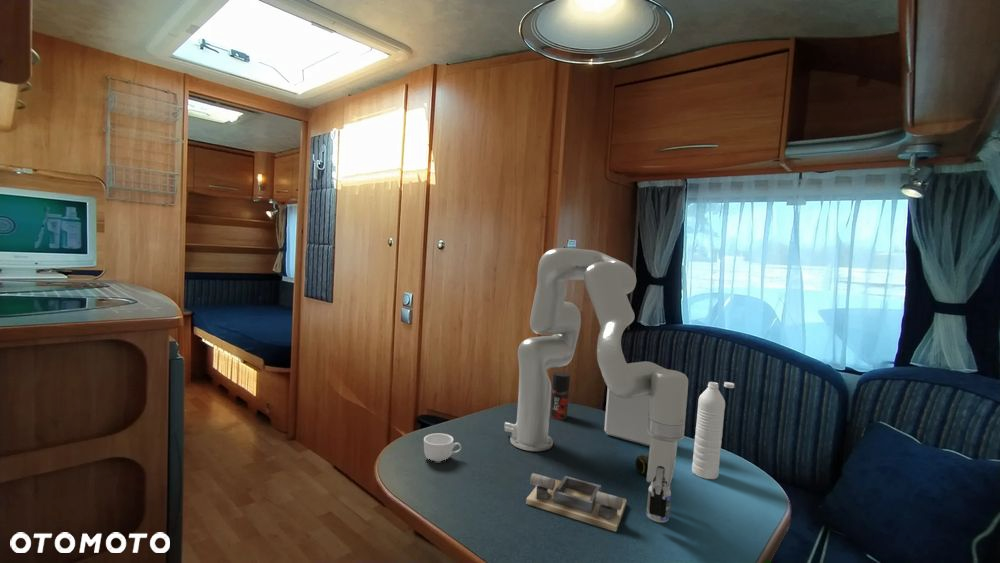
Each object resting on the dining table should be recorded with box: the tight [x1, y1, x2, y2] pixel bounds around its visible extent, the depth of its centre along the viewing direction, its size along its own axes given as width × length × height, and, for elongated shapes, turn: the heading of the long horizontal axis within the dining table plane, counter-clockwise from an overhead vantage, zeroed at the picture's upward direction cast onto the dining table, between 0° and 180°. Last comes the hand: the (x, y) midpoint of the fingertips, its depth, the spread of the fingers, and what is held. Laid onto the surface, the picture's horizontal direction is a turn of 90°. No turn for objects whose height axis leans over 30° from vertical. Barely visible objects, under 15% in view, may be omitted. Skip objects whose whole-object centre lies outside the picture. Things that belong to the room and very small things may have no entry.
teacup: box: [423, 432, 462, 461], centre depth 122 cm, size 10×8×5 cm
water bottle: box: [691, 381, 735, 480], centre depth 122 cm, size 9×6×25 cm
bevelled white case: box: [603, 388, 651, 447], centre depth 142 cm, size 21×8×20 cm, turn 58°
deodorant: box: [549, 371, 571, 421], centre depth 159 cm, size 6×6×15 cm
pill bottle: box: [646, 480, 672, 524], centre depth 100 cm, size 5×5×8 cm
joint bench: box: [525, 472, 627, 533], centre depth 104 cm, size 20×12×6 cm, turn 65°
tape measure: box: [634, 454, 649, 476], centre depth 122 cm, size 7×7×4 cm
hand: (659, 504), depth 100 cm, fingers open, 9 cm apart
